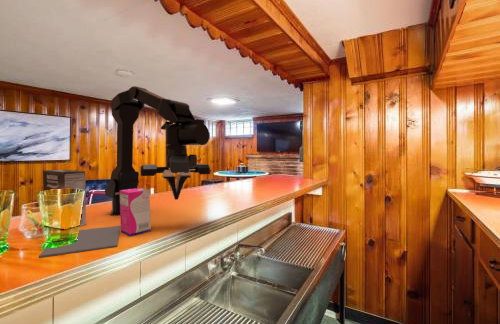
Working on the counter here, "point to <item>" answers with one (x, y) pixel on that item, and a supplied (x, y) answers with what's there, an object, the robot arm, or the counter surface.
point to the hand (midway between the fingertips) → (176, 199)
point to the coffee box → (66, 183)
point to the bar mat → (88, 241)
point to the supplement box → (135, 211)
